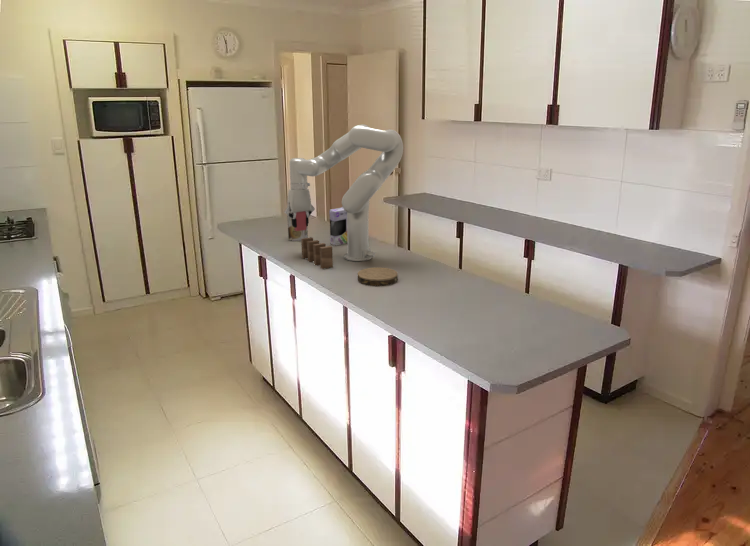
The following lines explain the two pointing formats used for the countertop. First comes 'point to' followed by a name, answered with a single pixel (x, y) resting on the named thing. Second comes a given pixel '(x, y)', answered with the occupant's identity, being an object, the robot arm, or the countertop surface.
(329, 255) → the domino
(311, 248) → the domino
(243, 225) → the countertop surface
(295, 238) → the coffee box
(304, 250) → the domino
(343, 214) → the cake pan box
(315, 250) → the domino
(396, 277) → the wooden log slice
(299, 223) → the maroon domino
